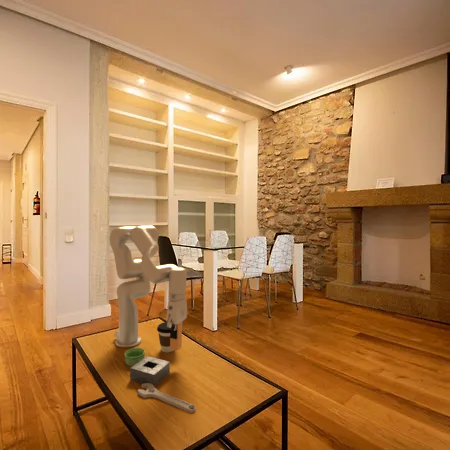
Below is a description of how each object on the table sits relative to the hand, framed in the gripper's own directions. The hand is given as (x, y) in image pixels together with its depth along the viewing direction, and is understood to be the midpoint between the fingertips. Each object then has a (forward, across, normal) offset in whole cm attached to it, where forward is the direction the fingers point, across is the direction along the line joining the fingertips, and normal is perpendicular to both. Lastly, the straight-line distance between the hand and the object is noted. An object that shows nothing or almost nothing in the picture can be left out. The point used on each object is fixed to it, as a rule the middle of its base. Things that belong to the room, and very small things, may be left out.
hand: (175, 336), depth 127 cm
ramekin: (+14, -5, +18) cm, 23 cm away
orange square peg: (+5, 0, 0) cm, 5 cm away
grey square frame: (+13, -12, +4) cm, 18 cm away
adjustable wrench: (+13, -22, -10) cm, 28 cm away
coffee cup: (+14, +11, +11) cm, 20 cm away
